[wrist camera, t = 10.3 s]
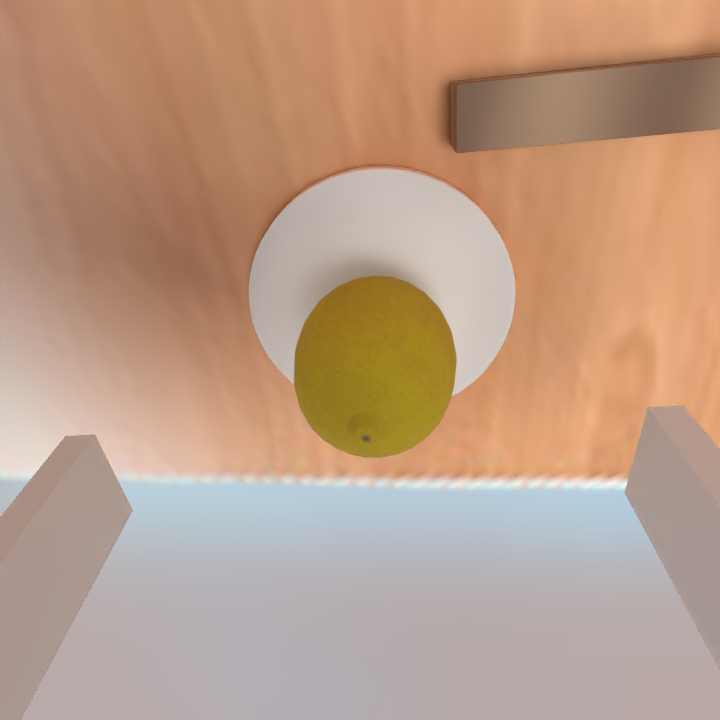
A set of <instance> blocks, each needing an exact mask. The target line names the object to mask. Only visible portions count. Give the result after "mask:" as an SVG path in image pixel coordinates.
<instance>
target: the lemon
mask: <svg viewBox="0 0 720 720" xmlns="http://www.w3.org/2000/svg"><path fill="white" fill-rule="evenodd" d="M456 363H457V357H456V351H455V346H454V341H453V336H452V332H451V329H450V327H449V325H448V323H447V321H446V319H445V317H444V315H443V313H442V312H441V310H440V308H439V307H438V306H437V305H436V304H435V302H434V301H433V300H432V299H431V298H430V297H429V296H428V295H427V294H426V293H425V292H423V291H422V290H420V289H419V288H417V287H415V286H414V285H412V284H410V283H409V282H406V281H403V280H400V279H397V278H394V277H388V276H368V277H362V278H356V279H353V280H351V281H348V282H346V283H344V284H341V285H339V286H337V287H336V288H335V289H333V290H332V291H331V292H330V293H328V294H327V295H326V296H324V297H323V298H322V299H321V300H320V301H319V302H318V304H317V305H316V306H315V308H314V309H313V310H312V312H311V313H310V315H309V316H308V317H307V319H306V321H305V323H304V325H303V328H302V330H301V333H300V336H299V339H298V342H297V345H296V349H295V360H294V385H295V390H296V394H297V398H298V402H299V405H300V408H301V411H302V413H303V414H304V416H305V418H306V419H307V421H308V423H309V425H310V426H311V427H312V429H313V430H314V431H315V432H316V433H317V434H318V435H319V436H320V437H321V438H322V439H323V440H325V441H326V442H328V443H329V444H331V445H332V446H334V447H336V448H337V449H339V450H341V451H344V452H346V453H349V454H352V455H356V456H362V457H386V456H391V455H396V454H399V453H401V452H403V451H406V450H408V449H411V448H413V447H414V446H416V445H417V444H418V443H420V442H421V441H422V440H424V439H425V438H426V437H427V436H429V435H430V433H431V432H432V431H433V430H434V428H435V427H436V426H437V425H438V424H439V422H440V421H441V419H442V417H443V415H444V413H445V411H446V408H447V406H448V404H449V401H450V399H451V396H452V393H453V389H454V384H455V374H456Z"/></svg>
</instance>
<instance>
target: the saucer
mask: <svg viewBox="0 0 720 720" xmlns="http://www.w3.org/2000/svg"><path fill="white" fill-rule="evenodd" d="M368 276H388V277H394V278H397V279H400V280H403V281H406V282H409V283H410V284H412V285H414V286H415V287H417V288H419V289H420V290H422V291H423V292H425V293H426V294H427V295H428V296H429V297H430V298H431V299H432V300H433V301H434V302H435V304H436V305H437V306H438V307H439V308H440V310H441V312H442V313H443V315H444V317H445V319H446V321H447V323H448V325H449V327H450V329H451V332H452V336H453V341H454V346H455V351H456V357H457V363H456V374H455V384H454V389H453V393H452V396H454V395H456V394H457V393H459V392H461V391H462V390H463V389H465V388H466V387H467V386H469V385H470V384H471V383H473V382H474V381H475V380H476V379H477V378H478V377H479V376H480V375H481V374H482V373H483V372H484V371H485V370H486V369H487V367H488V366H489V365H490V364H491V363H492V361H493V360H494V359H495V357H496V355H497V354H498V352H499V351H500V349H501V347H502V345H503V343H504V341H505V339H506V337H507V334H508V332H509V329H510V325H511V322H512V319H513V313H514V306H515V279H514V273H513V267H512V264H511V260H510V257H509V254H508V251H507V249H506V247H505V245H504V243H503V241H502V239H501V236H500V235H499V233H498V231H497V230H496V228H495V227H494V225H493V224H492V222H491V221H490V219H489V218H488V216H487V215H486V214H485V212H484V211H483V210H482V209H481V208H480V207H479V206H478V205H477V204H476V203H475V202H474V201H473V200H472V199H471V198H470V197H468V196H467V195H466V194H465V193H464V192H462V191H461V190H460V189H458V188H457V187H455V186H453V185H452V184H450V183H448V182H447V181H445V180H443V179H441V178H438V177H436V176H433V175H431V174H429V173H426V172H422V171H419V170H415V169H411V168H406V167H398V166H389V165H388V166H366V167H360V168H354V169H349V170H346V171H343V172H339V173H336V174H333V175H331V176H329V177H326V178H324V179H322V180H320V181H318V182H316V183H314V184H313V185H311V186H310V187H308V188H307V189H305V190H304V191H302V192H301V193H300V194H298V195H297V196H296V197H295V198H294V199H293V200H292V201H290V202H289V203H288V204H287V205H286V206H285V208H284V209H283V210H282V211H281V212H280V213H279V215H278V216H277V217H276V218H275V220H274V221H273V223H272V224H271V226H270V227H269V229H268V230H267V232H266V234H265V235H264V237H263V238H262V240H261V242H260V245H259V247H258V249H257V252H256V254H255V257H254V261H253V264H252V268H251V272H250V280H249V306H250V312H251V318H252V321H253V325H254V328H255V331H256V334H257V336H258V338H259V340H260V343H261V345H262V347H263V348H264V350H265V352H266V353H267V355H268V356H269V358H270V360H271V361H272V362H273V363H274V365H275V366H276V367H277V368H278V369H279V371H280V372H281V373H282V374H283V375H284V376H285V377H286V378H287V379H288V380H290V381H291V382H292V383H293V384H294V360H295V349H296V345H297V342H298V339H299V336H300V333H301V330H302V328H303V325H304V323H305V321H306V319H307V317H308V316H309V315H310V313H311V312H312V310H313V309H314V308H315V306H316V305H317V304H318V302H319V301H320V300H321V299H322V298H323V297H324V296H326V295H327V294H328V293H330V292H331V291H332V290H333V289H335V288H336V287H337V286H339V285H341V284H344V283H346V282H348V281H351V280H353V279H356V278H362V277H368ZM452 396H451V397H452Z"/></svg>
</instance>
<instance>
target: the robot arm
mask: <svg viewBox="0 0 720 720" xmlns="http://www.w3.org/2000/svg"><path fill="white" fill-rule="evenodd" d="M625 494H626V496H627V498H628V500H629V502H630V503H631V505H632V507H633V509H634V511H635V513H636V515H637V517H638V518H639V520H640V522H641V524H642V526H643V528H644V530H645V531H646V533H647V535H648V537H649V539H650V541H651V542H652V544H653V546H654V548H655V550H656V552H657V554H658V556H659V557H660V559H661V561H662V563H663V565H664V567H665V569H666V570H667V572H668V574H669V576H670V578H671V580H672V581H673V584H674V585H675V587H676V589H677V591H678V593H679V595H680V597H681V598H682V600H683V602H684V604H685V606H686V608H687V610H688V611H689V613H690V615H691V617H692V619H693V621H694V622H695V624H696V626H697V628H698V630H699V632H700V634H701V635H702V638H703V639H704V641H705V643H706V645H707V647H708V649H709V650H710V652H711V654H712V656H713V658H714V660H715V662H716V664H717V665H718V667H719V669H720V449H719V448H718V447H717V446H716V444H715V443H714V442H713V441H712V440H711V438H710V437H709V436H708V435H707V433H706V432H705V431H704V430H703V429H702V427H701V426H700V425H699V424H698V423H697V421H696V420H695V419H694V418H693V417H692V415H691V414H690V413H689V412H688V411H687V409H686V408H685V407H684V406H667V407H648V409H647V412H646V416H645V420H644V424H643V427H642V431H641V435H640V438H639V442H638V446H637V450H636V453H635V457H634V461H633V464H632V468H631V472H630V475H629V479H628V483H627V487H626V490H625ZM132 511H133V510H132V508H131V506H130V504H129V502H128V500H127V498H126V496H125V494H124V492H123V491H122V488H121V486H120V484H119V482H118V480H117V478H116V476H115V474H114V472H113V470H112V468H111V466H110V464H109V462H108V460H107V458H106V456H105V454H104V452H103V450H102V448H101V446H100V444H99V442H98V440H97V438H96V436H95V435H80V436H65V438H64V439H63V440H62V441H61V443H60V444H59V445H58V446H57V448H56V449H55V450H54V451H53V453H52V454H51V455H50V456H49V457H48V459H47V460H46V461H45V462H44V464H43V465H42V466H41V467H40V469H39V470H38V471H37V472H36V474H35V475H34V476H33V477H32V479H31V480H30V481H29V482H28V484H27V485H26V486H25V487H24V488H23V490H22V491H21V492H20V493H19V495H18V496H17V497H16V499H15V500H14V501H13V503H11V505H10V506H9V507H8V509H7V510H6V511H5V512H4V513H3V515H2V516H1V517H0V720H21V718H22V716H23V714H24V712H25V711H26V709H27V707H28V705H29V703H30V701H31V699H32V698H33V695H34V694H35V692H36V690H37V688H38V686H39V684H40V683H41V681H42V679H43V677H44V675H45V673H46V671H47V669H48V668H49V666H50V664H51V662H52V660H53V658H54V656H55V655H56V653H57V651H58V649H59V647H60V645H61V643H62V641H63V640H64V638H65V636H66V634H67V632H68V630H69V628H70V627H71V624H72V623H73V621H74V619H75V617H76V615H77V613H78V611H79V610H80V608H81V606H82V604H83V602H84V600H85V598H86V597H87V595H88V593H89V591H90V589H91V587H92V585H93V584H94V582H95V580H96V578H97V576H98V574H99V572H100V570H101V569H102V567H103V565H104V563H105V561H106V559H107V557H108V555H109V554H110V552H111V550H112V548H113V546H114V544H115V542H116V540H117V539H118V537H119V535H120V533H121V531H122V529H123V528H124V526H125V524H126V522H127V520H128V518H129V516H130V514H131V512H132Z"/></svg>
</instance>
